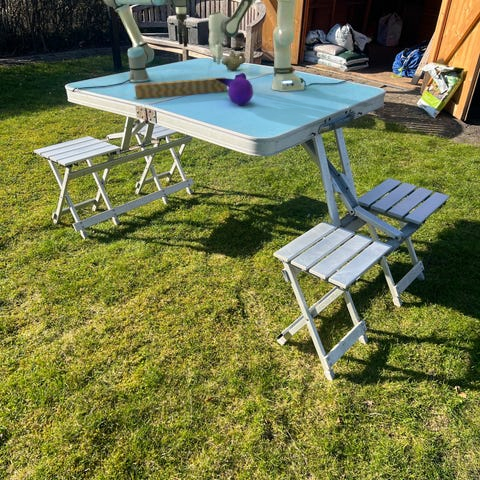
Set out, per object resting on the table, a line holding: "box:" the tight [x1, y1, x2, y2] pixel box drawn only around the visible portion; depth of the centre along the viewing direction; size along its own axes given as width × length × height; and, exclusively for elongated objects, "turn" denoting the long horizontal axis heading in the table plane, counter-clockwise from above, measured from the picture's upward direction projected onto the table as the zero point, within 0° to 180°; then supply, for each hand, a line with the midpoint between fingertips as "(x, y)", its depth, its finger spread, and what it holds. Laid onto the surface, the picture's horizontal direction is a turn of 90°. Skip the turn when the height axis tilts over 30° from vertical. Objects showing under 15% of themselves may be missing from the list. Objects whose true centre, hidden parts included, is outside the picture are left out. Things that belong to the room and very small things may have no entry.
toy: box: [215, 72, 254, 106], centre depth 272 cm, size 16×18×27 cm
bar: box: [133, 76, 228, 100], centre depth 296 cm, size 61×6×8 cm, turn 107°
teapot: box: [221, 50, 246, 71], centre depth 368 cm, size 21×12×15 cm, turn 120°
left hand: (183, 45), depth 332 cm, fingers open, 13 cm apart
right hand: (216, 63), depth 295 cm, fingers open, 8 cm apart
